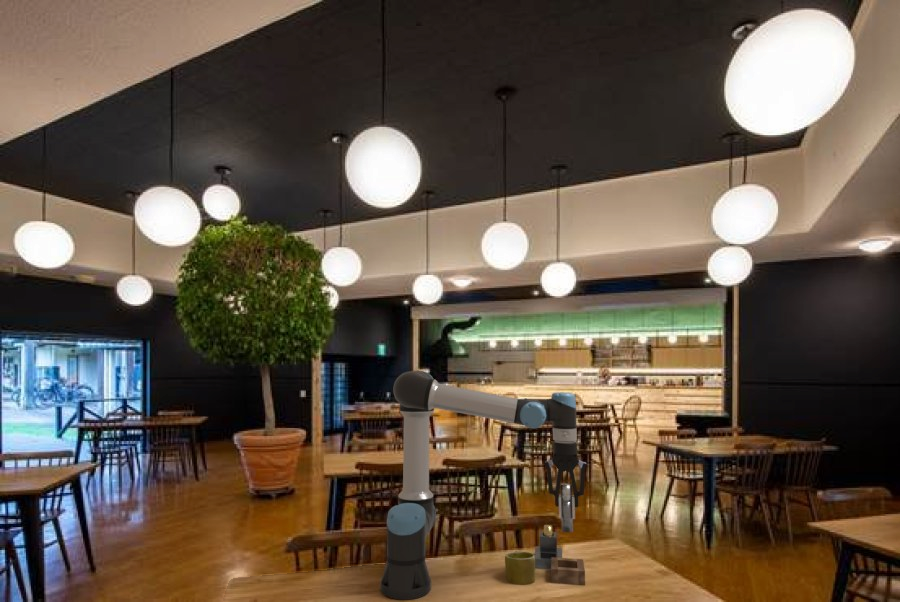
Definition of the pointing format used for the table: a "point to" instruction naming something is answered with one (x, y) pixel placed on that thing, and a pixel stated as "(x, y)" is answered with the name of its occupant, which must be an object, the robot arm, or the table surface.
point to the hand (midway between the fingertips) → (566, 517)
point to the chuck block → (546, 551)
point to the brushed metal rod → (566, 507)
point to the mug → (520, 567)
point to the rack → (567, 571)
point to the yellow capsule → (547, 530)
